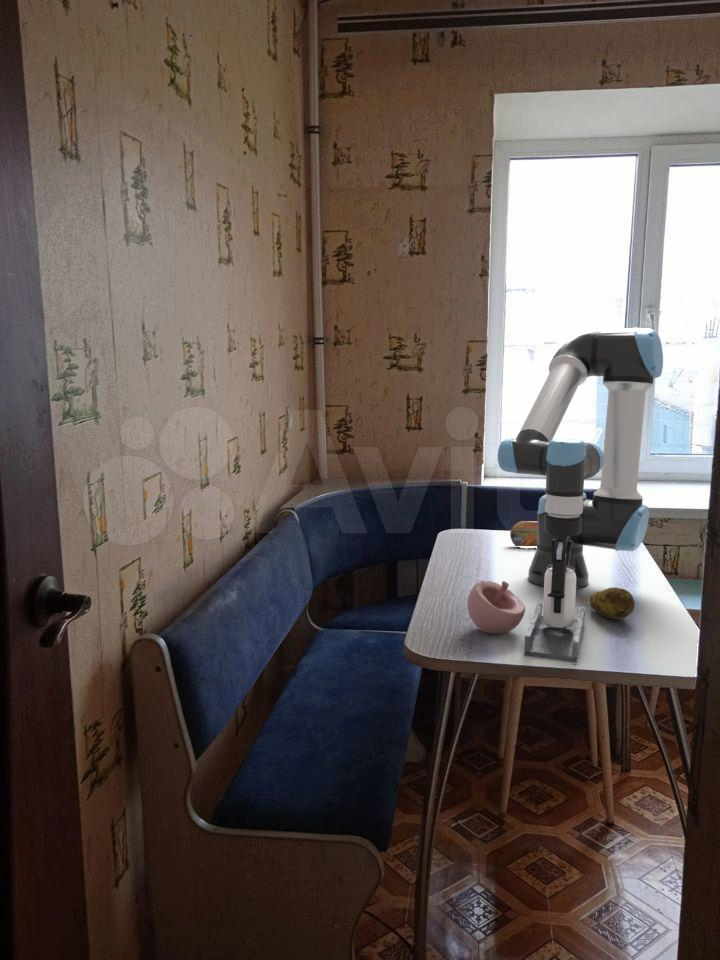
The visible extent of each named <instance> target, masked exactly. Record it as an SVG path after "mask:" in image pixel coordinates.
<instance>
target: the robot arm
mask: <svg viewBox="0 0 720 960" xmlns="http://www.w3.org/2000/svg"><path fill="white" fill-rule="evenodd" d="M663 353H664V351H663V346H662V341H661V337H660V336H659V333H658V332H657V331H656V330H654V329H652V328H644V327H643V328H642V327H641V328H640V327H627V328H626V327H625V328H623V327H622V328H592V329H587V330H584V331H582V332H580V333H577V334H576V335H574V336H573V337H572V338H570V339H569V340H567V341H566V342H565V343H563V345H562V346H561V347H560V348H559V349H558V350H557V351H556V353H554V356H553V357H552V359H551V361H550V363H549V365H548V372H549V373H548V376H547V377H546V379H545V382H544V383H543V385H542V387H541V389H540V390H539V393H538V395H537V397H536V399H535V401H534V403H533V405H532V407H531V409H530V411H529V413H528V415H527V416H526V418H525V421H524V423H523V424H522V426H521V429H520V430H519V432H518V434H517V436H516V437H515V438H506V439H504V440H502V441H501V442H500V444H499V446H498V449H497V463H498V466H499V469H501V470H502V471H504V472H507V473H511V474H512V473H513V474H517V475H519V474H522V475H535V476H544V477H546V479H545V494H544V495H542V496H541V497H540V498H539V501H538V508H537V509H538V510H537V511H536V512H537V513H536V514H537V521H538V522H537V549H535V553H534V556H533V558H532V560H531V563H530V567H529V569H528V580H529V581H530V582H531V583H533V584H535V585H537V586H542V587H544V577H545V573H546V571H547V566H549V565H552V584H551V592H550V594H548V597H551V614H550V627H558V628H564V610H565V594H564V591H565V577H566V567H567V566H571V567H573V568H574V569H575V570H574V572H575V574H576V589H579V588H584V587H585V586H587V585H588V584H589V571H588V568H587V564H586V561H585V557H584V553H583V552H584V546H586V547H594V548H602V549H607V550H615V551H617V552H619V551H624V552H634V551H636V550H637V549H638V548H639V547H640V546H641V544H642V543H643V541H644V539H645V535H646V532H647V529H648V525H649V519H650V509H649V507H648V505H647V506H646V504H643V500H644V499H643V496H642V494H640V493H639V491H638V483H639V482H638V480H639V472H640V471H639V469H640V460H641V459H640V458H641V446H642V439H643V438H642V435H643V425H644V415H645V403H646V393H647V391H649V390H650V389H651V388H652V387H653V385H654V379H657V378H660V377H661V375H662V373H663V369H664V356H663V355H664V354H663ZM589 377H602V384H603V386H604V387H605V388H606V389H607V391H608V392H607V393H608V395H607V404H606V405H607V407H606V418H605V429H604V440H603V441H604V442H603V451H602V449H601V447H600V446H598V445H597V444H595V443H592V442H585V441H584V440H583V439H579V438H569V437H568V438H567V437H565V438H563V437H562V438H561V437H560V438H554V437H555V435H556V432H557V431H558V428H559V427H560V425H561V423H562V421H563V418H564V416H565V414H566V412H567V410H568V408H569V406H570V403H571V401H572V400H573V397H574V396H575V393H576V391H577V389H578V388H579V386H581V385H582V384H584V383H585V382H586V380H587V378H589ZM600 471H601V475H600V487H599V488H598V489H596V491H594V492H593V495H592V499H588V498H587V494H586V493H585V492H584V487H585V486H584V485H585V480H587V479H589V478H590V479H591V478H592V477H594V476H596V475H597V474H598V473H600Z"/></svg>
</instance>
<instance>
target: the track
mask: <svg viewBox="0 0 720 960" xmlns="http://www.w3.org/2000/svg"><path fill="white" fill-rule="evenodd" d="M585 615H586V607H584V606H580V607H579V610H578V616H577V619H575V618H574V624H573V625H572V626H571V627H567V628H556V627H550V626H548V625H546V624H545V623H544V622H543V602H540V601H538V602H537V605H536V606H535V610H534V611H533V614H532V617H531V619H530V621H529V625H528V627H527V629H526V632H525V635H524V646H523V647H524V648H523V656H526V657H532V658H540V659H547V660H548V659H549V660H555V661H562V662H568V663H569V662H571V663H577V662H578V660H579V659H578V658H579V653H580V648H581V643H582V637H583V632H584V627H585V617H586V616H585Z"/></svg>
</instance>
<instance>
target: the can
mask: <svg viewBox="0 0 720 960" xmlns="http://www.w3.org/2000/svg"><path fill="white" fill-rule="evenodd" d="M574 570H575V569H574V568H573V567H571V566H567V567H566V577H565V591H564V594H565V610H564V628H567V627H571V626H572V625H573V624H574V619H575V614H576V612H575V611H576V594H577V588H576V574H575V572H574ZM551 584H552V565H549V566H547V571H546V573H545V577H544V586H543V598H542V599H543V601H542V603H543V610H542V616H543V622H544V623H545V624H546V625H548V626H550V614H551V597H548V594H550V592H551ZM556 628H558V627H556Z"/></svg>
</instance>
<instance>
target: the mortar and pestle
mask: <svg viewBox="0 0 720 960" xmlns="http://www.w3.org/2000/svg"><path fill="white" fill-rule="evenodd" d="M525 607H526V606H525V604H524V603H523V601H522V600H521V599H520V598H519V597H518V596H517V595H516V594H514V592H512V591H511V590H509V582H507V581H505V580H502V582H501V584H499V583H497V582H495V581H491V580H479V581H478V582H477V583H475V584H474V586H473V587H472V588H471V589H470V592H469V594H468V597H467V606H466V608H467V613H468V614H469V617H470V619H471V621H472V623H473V624H475V626H477V628H478V629H480V631H482V632H485V633H488V634H492V635H502V634H506V633H508V632H511V631H512V630H514V629H515V628H516V627H517V626H519V624H520V623H521V621H522V620H523V619H524V615H525V612H526V608H525Z"/></svg>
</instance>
